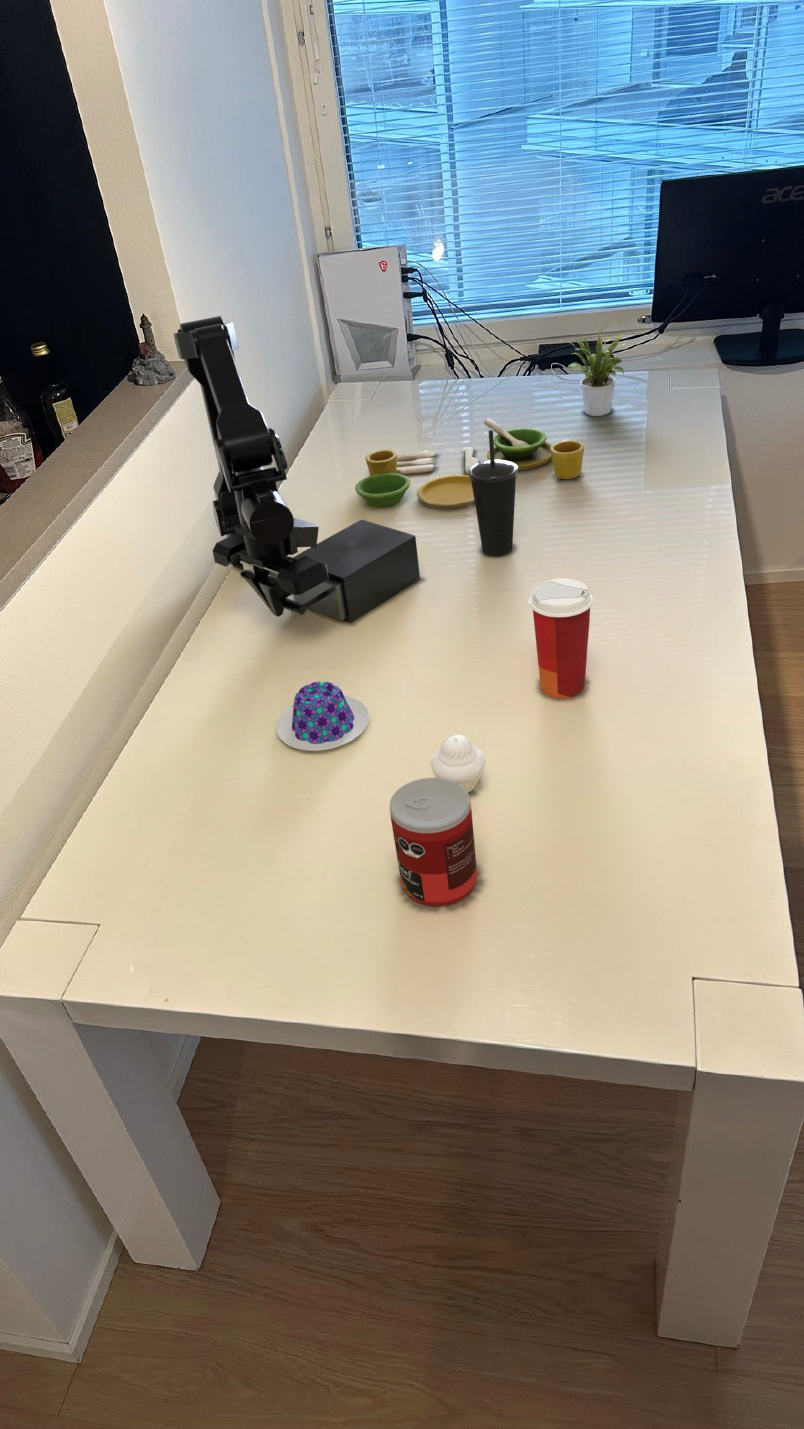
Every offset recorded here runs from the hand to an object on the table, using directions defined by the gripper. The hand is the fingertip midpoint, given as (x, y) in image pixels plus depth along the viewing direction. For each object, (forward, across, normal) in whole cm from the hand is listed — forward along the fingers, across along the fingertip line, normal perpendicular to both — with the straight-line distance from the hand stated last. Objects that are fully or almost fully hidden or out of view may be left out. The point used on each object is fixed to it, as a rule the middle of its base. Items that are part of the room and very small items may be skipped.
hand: (278, 614), depth 147 cm
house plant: (+2, +11, -96) cm, 96 cm away
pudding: (+4, -22, +12) cm, 25 cm away
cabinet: (+3, 0, -16) cm, 16 cm away
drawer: (+2, -1, -11) cm, 11 cm away
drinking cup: (+3, -10, -38) cm, 39 cm away
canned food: (+4, -52, +24) cm, 57 cm away
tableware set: (+2, +12, -58) cm, 59 cm away
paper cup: (+3, -42, -12) cm, 43 cm away
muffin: (+4, -44, +11) cm, 45 cm away
